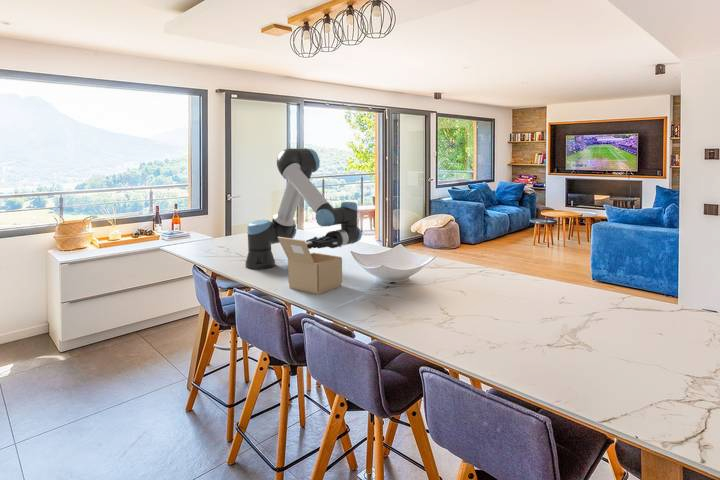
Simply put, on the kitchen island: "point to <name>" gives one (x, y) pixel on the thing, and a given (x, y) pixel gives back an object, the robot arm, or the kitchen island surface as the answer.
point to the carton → (316, 274)
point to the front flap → (296, 250)
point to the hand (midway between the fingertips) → (300, 247)
